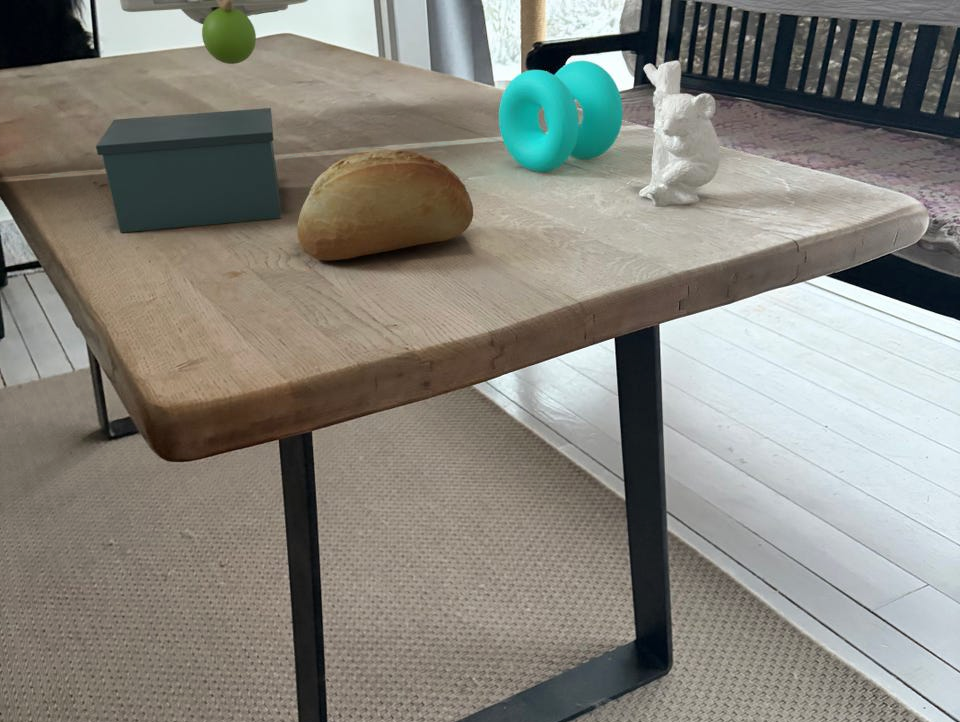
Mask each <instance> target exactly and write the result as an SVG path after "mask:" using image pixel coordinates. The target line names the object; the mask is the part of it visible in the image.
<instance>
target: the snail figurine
mask: <svg viewBox="0 0 960 722" xmlns="http://www.w3.org/2000/svg"><path fill="white" fill-rule="evenodd" d="M216 1H217V3H218V5H219V7H220V8H218V9H216V10H214V11H212V12H211V13H210V14H209V15H208V16H207V18H206V19H205V21H204V24H202V30H201V36H202V37H201V38H202V41H203V44H204V47H205V49H206V50H207V52H208V53H209V55H211V56H212V57H213V58H214V59H216V60H217V61H219V62H221V63H224V64H228V65H234V64H240V63H242V62H244V61H246V60H247V59H248V58H250V56H251V55H252V54H253V52H254V50H255V47H256V43H257V42H256V41H257V35H256V30H255V27H254V24H253V23H252V21H251V19H250V18H249V16H248V17H247V16H246V15H245V14H244V13H242V12H241V11H239V10H237V9H234V8H232V6H233V4H232V1H231V0H216Z"/></svg>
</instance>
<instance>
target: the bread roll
mask: <svg viewBox="0 0 960 722" xmlns="http://www.w3.org/2000/svg"><path fill="white" fill-rule="evenodd" d="M473 218H474V207H473V202H472V200H471V196H470V194H469V192H468V190H467V188H466V185H465V184H464V183H463V182H462V181H461V179H460V177H459V176H458V175H457V174H456V173H454V171H452V170H451V169H450V168H449V167H448V166H447V165H446V164H444V163H442V162H440V161H439V160H437V159H436V158H433V157H430V156H427V155H424V154H421V153H417V152H414V151H409V150H399V149H379V150H371V151H365V152H361V153H356V154H354V155H351V156H348V157H345V158H343V159H340V160H339V161H336V162H334V163H333V164H331V165H330V166H329V167H328V168H327V169H325V170H324V171H323V172H321V174H320V175H319V176H318V177H317V179H315V181H314V183H313V185H312V186H311V187H310V190H309V192H308V195H307V197H306V199H305V201H304V203H303V205H302V207H301V210H300V212H299V215H298V221H297V224H296V229H297V232H296V234H297V241H298V244H299V245H300V246H301V251H302V252H304V253H305V254H307V255H308V256H310V257H311V258H313V259H316V260H320V261H338V260H349V259H353V258H357V257H362V256H369V255H373V254H378V253H384V252H390V251H394V250H400V249H404V248H410V247H415V246H418V245H424V244H429V243H430V244H431V243H436V242H437V243H439V242H444V241H449V240H452V239H455V238H457V237H459V236H462V234H463V233H465V231H467V229H468V228H470V225H471V223H472V222H473Z"/></svg>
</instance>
